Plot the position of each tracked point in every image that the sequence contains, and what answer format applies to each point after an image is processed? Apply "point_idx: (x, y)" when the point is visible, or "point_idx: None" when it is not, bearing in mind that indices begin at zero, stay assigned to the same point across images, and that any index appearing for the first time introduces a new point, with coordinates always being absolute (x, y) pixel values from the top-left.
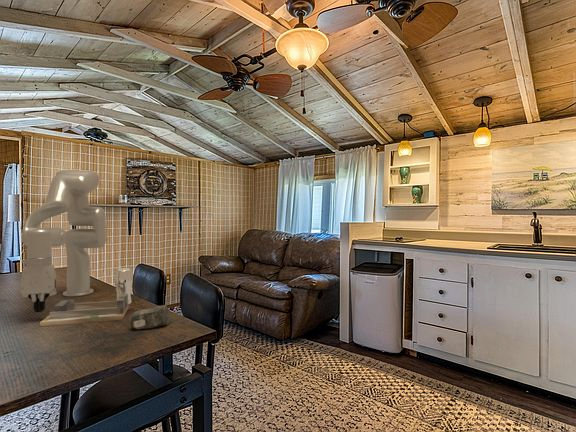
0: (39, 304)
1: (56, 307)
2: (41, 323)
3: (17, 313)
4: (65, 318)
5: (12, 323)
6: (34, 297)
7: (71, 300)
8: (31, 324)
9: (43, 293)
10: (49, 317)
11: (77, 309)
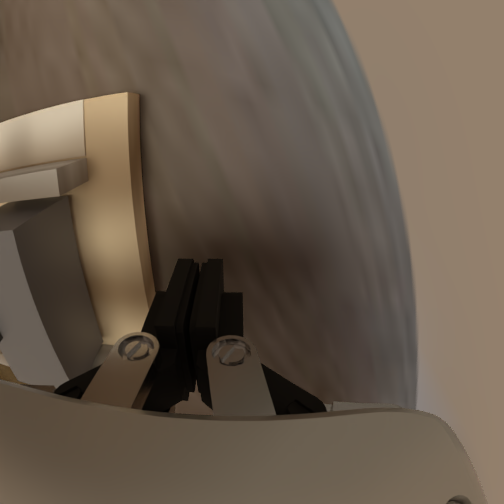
0: (167, 303)
1: (10, 225)
2: (123, 94)
3: (372, 389)
4: (1, 156)
5: (367, 228)
6: (223, 385)
7: (14, 365)
8: (226, 161)
9: (42, 391)
10: (108, 209)
11: None
